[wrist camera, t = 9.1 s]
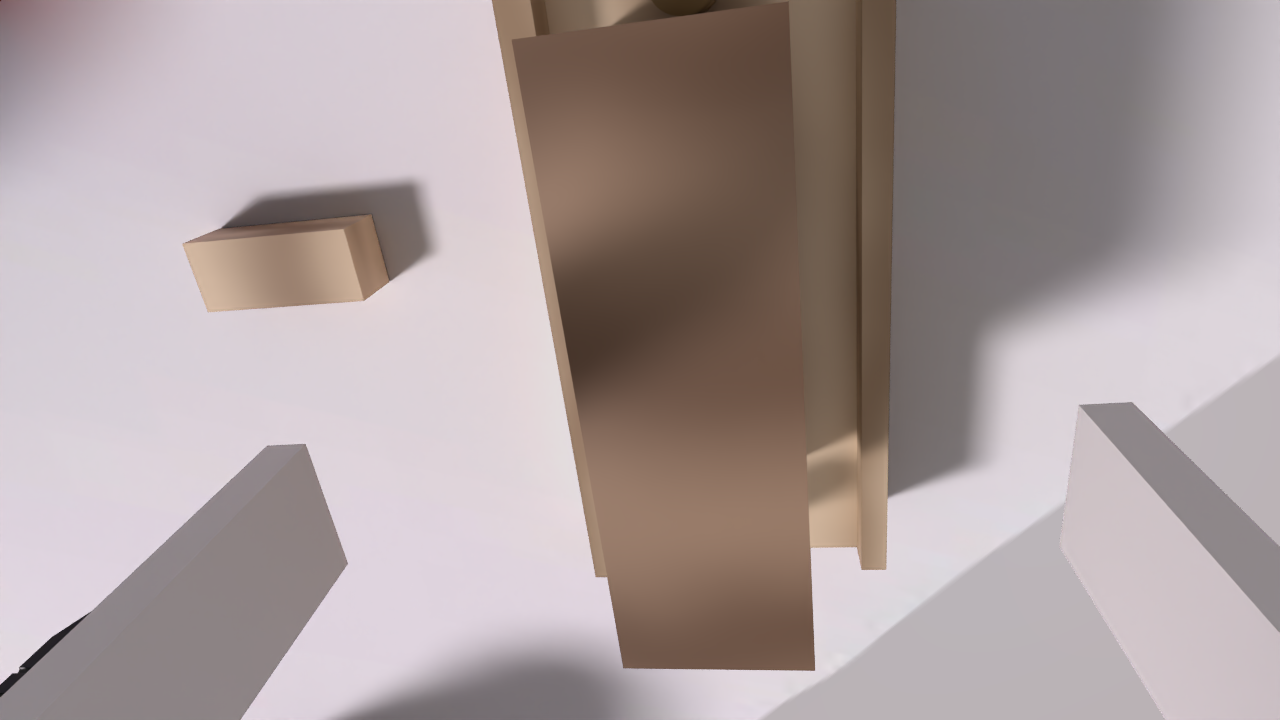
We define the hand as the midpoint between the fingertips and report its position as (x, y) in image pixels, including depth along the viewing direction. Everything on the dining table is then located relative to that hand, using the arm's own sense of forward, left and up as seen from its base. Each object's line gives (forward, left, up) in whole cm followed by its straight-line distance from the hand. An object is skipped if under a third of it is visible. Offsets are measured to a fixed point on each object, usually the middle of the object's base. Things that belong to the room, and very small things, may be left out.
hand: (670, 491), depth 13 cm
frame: (0, 0, -11) cm, 11 cm away
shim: (-15, +1, -14) cm, 20 cm away
